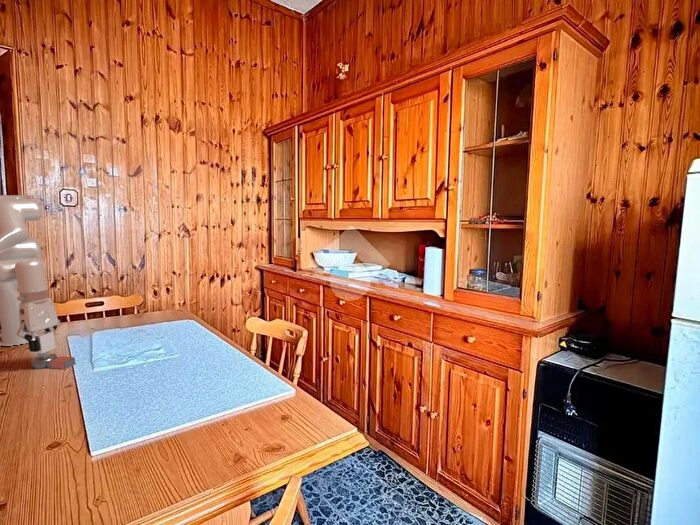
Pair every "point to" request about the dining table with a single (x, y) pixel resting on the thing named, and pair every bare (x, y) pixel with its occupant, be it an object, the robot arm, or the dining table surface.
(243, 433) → the dining table surface
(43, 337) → the brushed aluminum cube
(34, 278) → the robot arm
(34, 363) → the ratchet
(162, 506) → the dining table surface
